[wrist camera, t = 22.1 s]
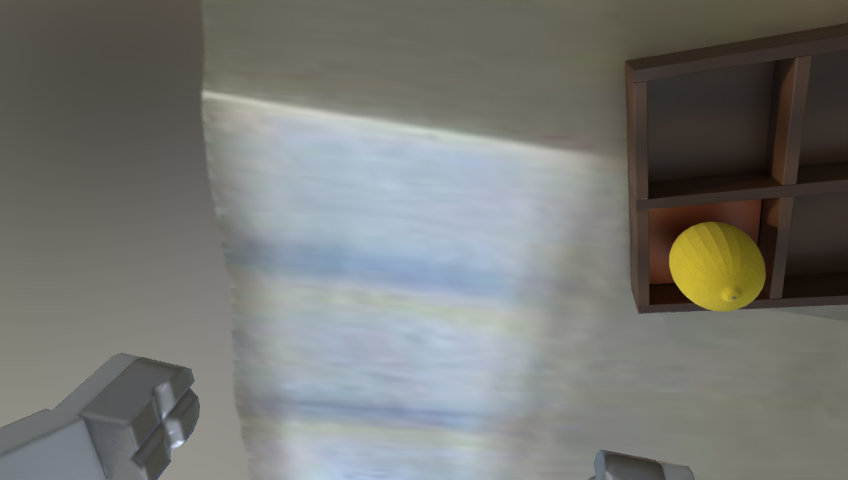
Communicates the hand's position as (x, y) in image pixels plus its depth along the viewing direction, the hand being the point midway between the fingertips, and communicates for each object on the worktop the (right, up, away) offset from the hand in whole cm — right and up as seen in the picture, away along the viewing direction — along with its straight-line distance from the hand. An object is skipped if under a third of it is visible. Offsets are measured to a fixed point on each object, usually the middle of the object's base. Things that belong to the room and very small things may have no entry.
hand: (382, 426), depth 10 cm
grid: (+25, +8, +26) cm, 37 cm away
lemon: (+22, +4, +28) cm, 36 cm away
